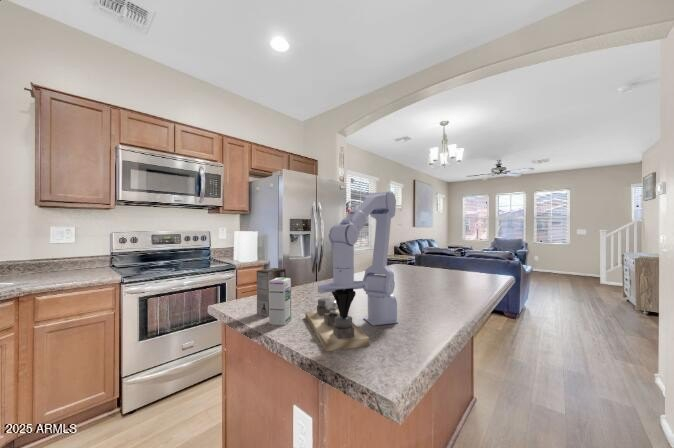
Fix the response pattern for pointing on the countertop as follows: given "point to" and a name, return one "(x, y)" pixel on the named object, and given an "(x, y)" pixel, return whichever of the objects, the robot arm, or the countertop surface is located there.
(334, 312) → the knob middle
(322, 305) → the knob
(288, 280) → the syrup box
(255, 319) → the countertop surface
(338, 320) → the knob
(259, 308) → the coffee box
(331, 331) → the mount board
